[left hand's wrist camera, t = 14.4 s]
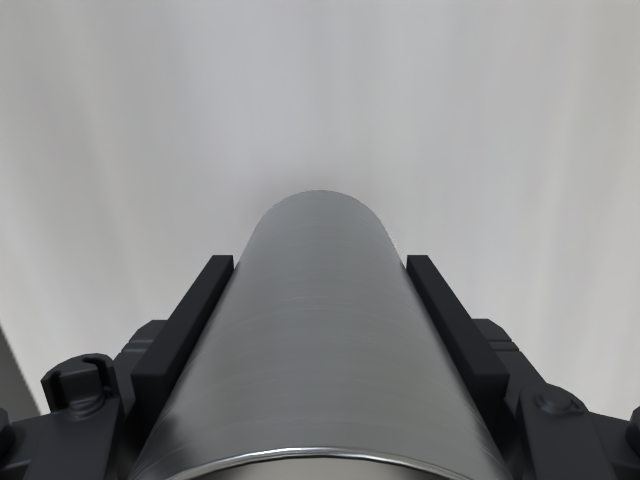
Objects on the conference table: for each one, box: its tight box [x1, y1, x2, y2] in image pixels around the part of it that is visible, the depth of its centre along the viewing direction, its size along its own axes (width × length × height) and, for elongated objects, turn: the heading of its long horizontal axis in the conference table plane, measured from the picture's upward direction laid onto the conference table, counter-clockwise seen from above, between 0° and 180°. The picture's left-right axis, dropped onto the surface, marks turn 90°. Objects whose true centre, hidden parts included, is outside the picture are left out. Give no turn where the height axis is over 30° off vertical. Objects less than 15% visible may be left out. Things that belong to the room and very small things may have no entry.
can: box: [127, 190, 514, 480], centre depth 11 cm, size 7×7×13 cm
